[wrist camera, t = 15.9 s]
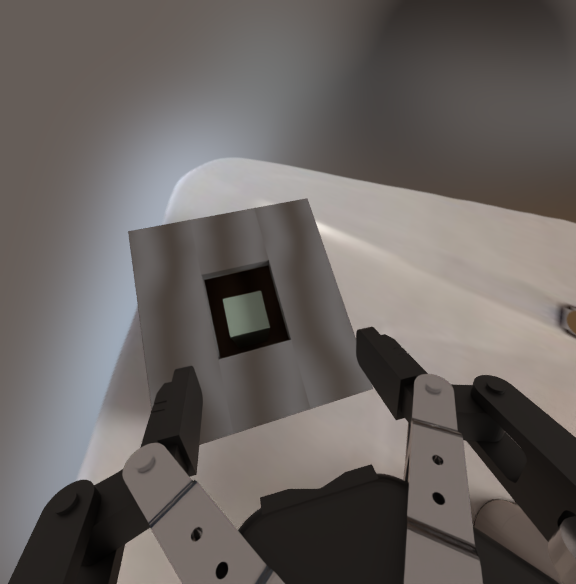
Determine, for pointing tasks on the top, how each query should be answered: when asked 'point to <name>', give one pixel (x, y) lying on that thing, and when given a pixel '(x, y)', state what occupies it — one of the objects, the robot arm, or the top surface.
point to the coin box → (213, 323)
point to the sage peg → (247, 319)
